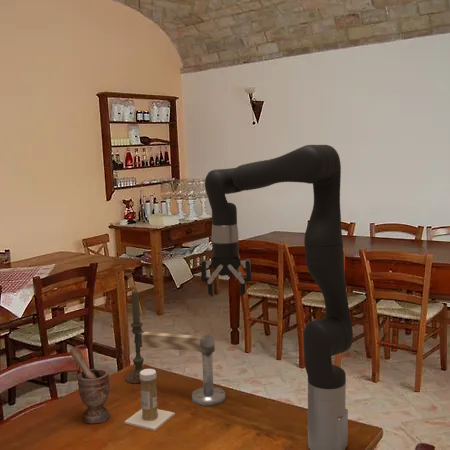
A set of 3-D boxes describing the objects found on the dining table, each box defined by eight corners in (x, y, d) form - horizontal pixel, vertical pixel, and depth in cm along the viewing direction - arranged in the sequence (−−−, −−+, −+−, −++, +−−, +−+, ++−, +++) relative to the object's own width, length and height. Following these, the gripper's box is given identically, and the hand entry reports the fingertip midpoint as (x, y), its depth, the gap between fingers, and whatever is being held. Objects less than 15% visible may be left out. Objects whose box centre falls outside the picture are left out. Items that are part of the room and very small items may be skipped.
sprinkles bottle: (160, 417, 160) (159, 372, 158) (146, 422, 158) (143, 376, 156) (153, 411, 164) (151, 366, 162) (138, 416, 161) (136, 370, 159)
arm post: (230, 394, 175) (229, 349, 173) (215, 408, 166) (214, 360, 164) (202, 389, 179) (200, 344, 177) (185, 402, 170) (184, 355, 168)
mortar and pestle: (65, 423, 159) (60, 355, 156) (77, 409, 168) (73, 343, 165) (104, 426, 157) (100, 356, 154) (115, 411, 166) (111, 345, 163)
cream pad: (174, 414, 163) (174, 412, 163) (155, 430, 154) (154, 428, 154) (145, 408, 167) (145, 406, 167) (124, 423, 159) (124, 421, 158)
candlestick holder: (120, 382, 186) (115, 292, 181) (132, 371, 194) (128, 285, 190) (146, 385, 183) (141, 293, 179) (157, 374, 192) (153, 286, 187)
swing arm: (216, 349, 172) (216, 335, 171) (212, 354, 168) (211, 340, 167) (143, 343, 179) (142, 329, 178) (137, 347, 174) (136, 334, 174)
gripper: (251, 237, 165) (252, 292, 167) (201, 238, 166) (203, 292, 169) (249, 241, 158) (251, 299, 160) (198, 242, 159) (200, 299, 161)
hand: (226, 295), depth 164 cm, fingers open, 8 cm apart
